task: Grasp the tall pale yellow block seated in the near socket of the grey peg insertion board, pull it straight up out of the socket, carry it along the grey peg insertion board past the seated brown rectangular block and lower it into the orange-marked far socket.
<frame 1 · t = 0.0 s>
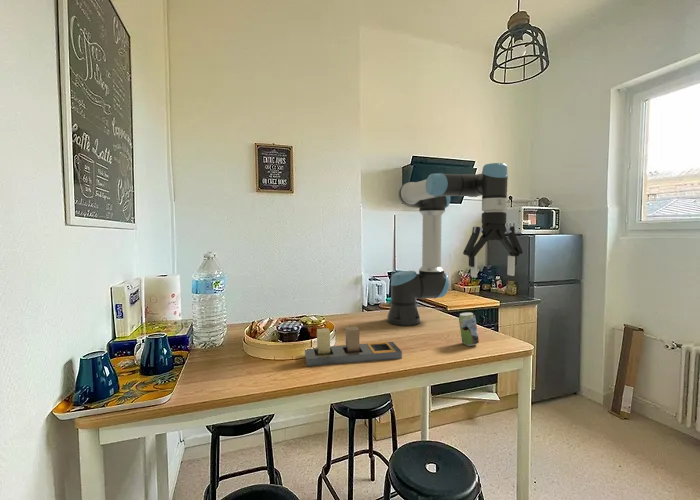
hand: (492, 276, 115), 28 cm above the table, fingers open, 13 cm apart
brown rectangular block: (352, 342, 119), in the grey peg insertion board
beverage can: (468, 344, 131), on the table
pale yellow block: (323, 359, 118), resting in grey peg insertion board
grey peg insertion board: (352, 356, 120), on the table
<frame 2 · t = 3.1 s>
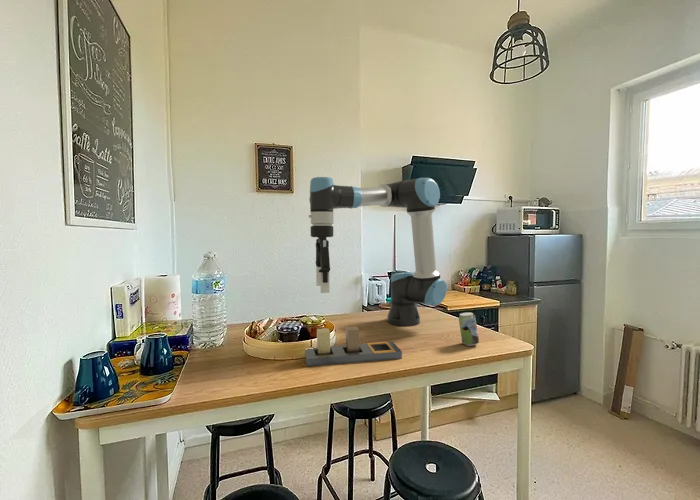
hand: (322, 289, 116), 24 cm above the table, fingers open, 13 cm apart
nothing on the table moved.
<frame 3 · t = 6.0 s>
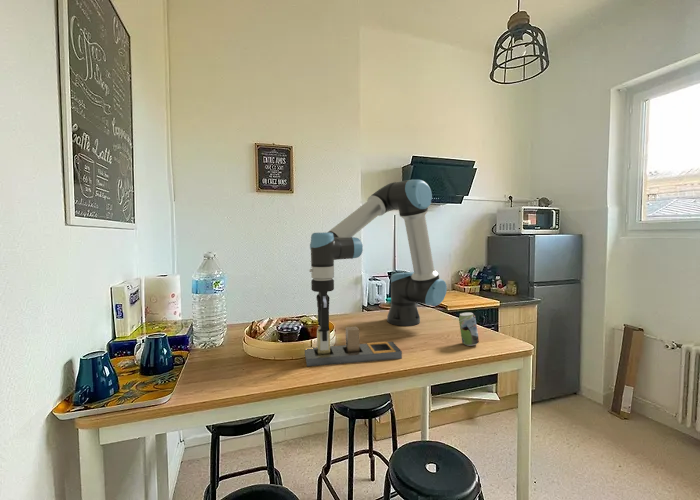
hand: (323, 347, 118), 4 cm above the table, fingers closed on pale yellow block, 4 cm apart
pale yellow block: (323, 359, 118), resting in grey peg insertion board, touching gripper
everything else where it was.
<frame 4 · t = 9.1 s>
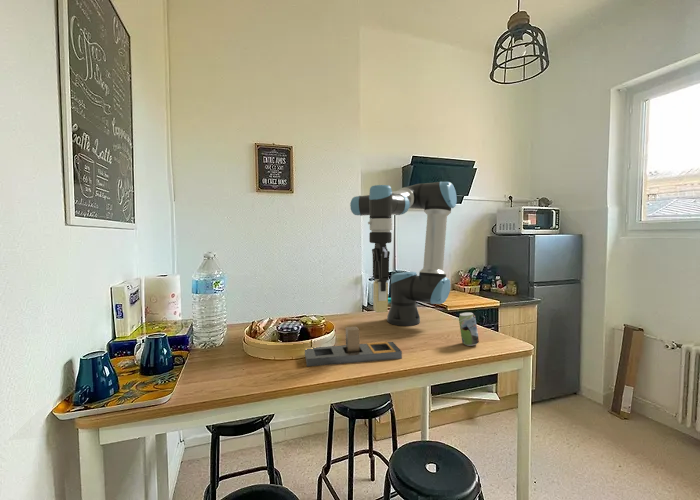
hand: (380, 298, 120), 20 cm above the table, fingers closed on pale yellow block, 4 cm apart
pale yellow block: (380, 310, 120), point 16 cm above the table, touching gripper
everything else where it was.
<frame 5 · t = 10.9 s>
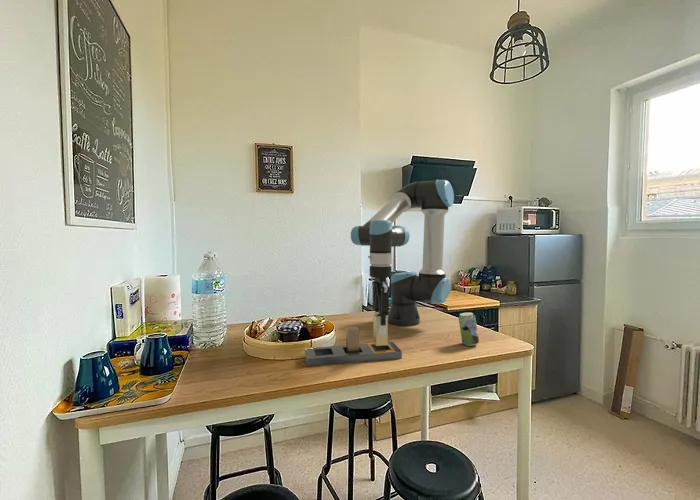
hand: (380, 331, 121), 8 cm above the table, fingers closed on pale yellow block, 4 cm apart
pale yellow block: (380, 343, 121), point 4 cm above the table, touching gripper
everything else where it was.
when the fingers open (5 cm above the table, at t = 12.2 s): pale yellow block stays where it is, resting in grey peg insertion board.
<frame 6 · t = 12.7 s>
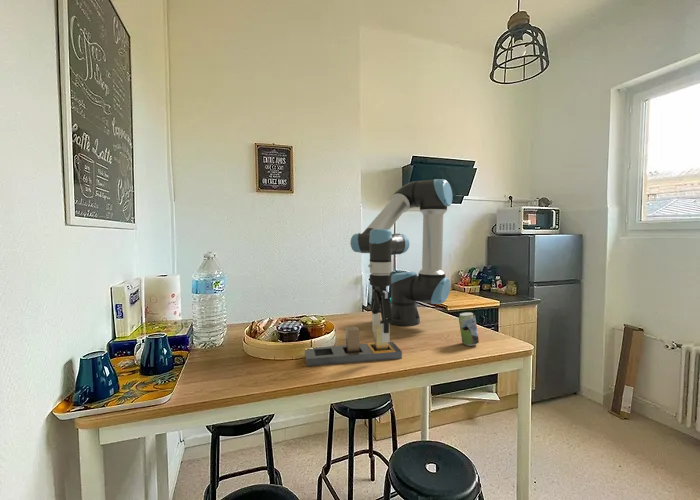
hand: (380, 336, 121), 6 cm above the table, fingers open, 11 cm apart
pale yellow block: (380, 354, 122), resting in grey peg insertion board
everything else where it was.
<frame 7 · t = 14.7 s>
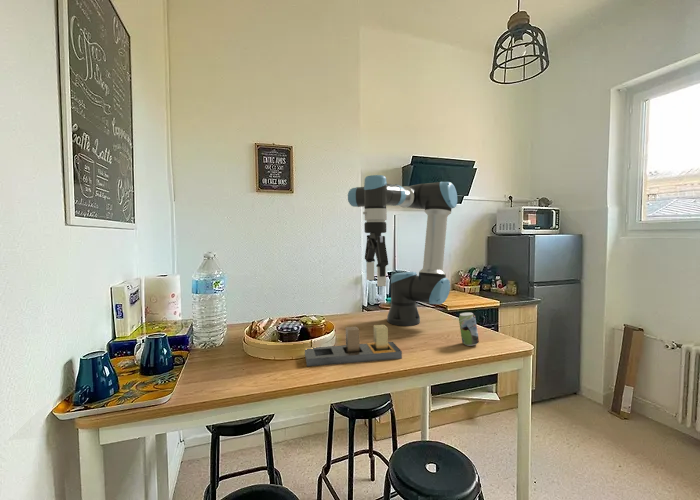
hand: (375, 282, 121), 25 cm above the table, fingers open, 13 cm apart
nothing on the table moved.
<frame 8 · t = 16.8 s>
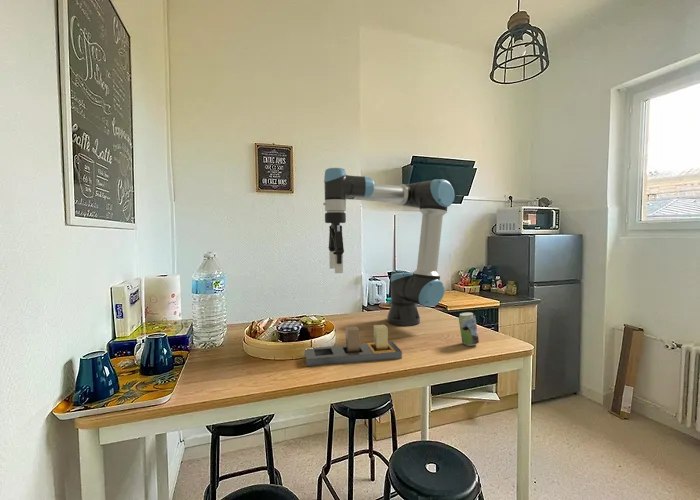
hand: (335, 270, 127), 29 cm above the table, fingers open, 13 cm apart
nothing on the table moved.
at the end: pale yellow block 0.0 cm from the target spot on the grey peg insertion board, point 0.0 cm above the grey peg insertion board's base; pale yellow block tilted 0°; brown rectangular block moved 0.0 cm from its start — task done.
